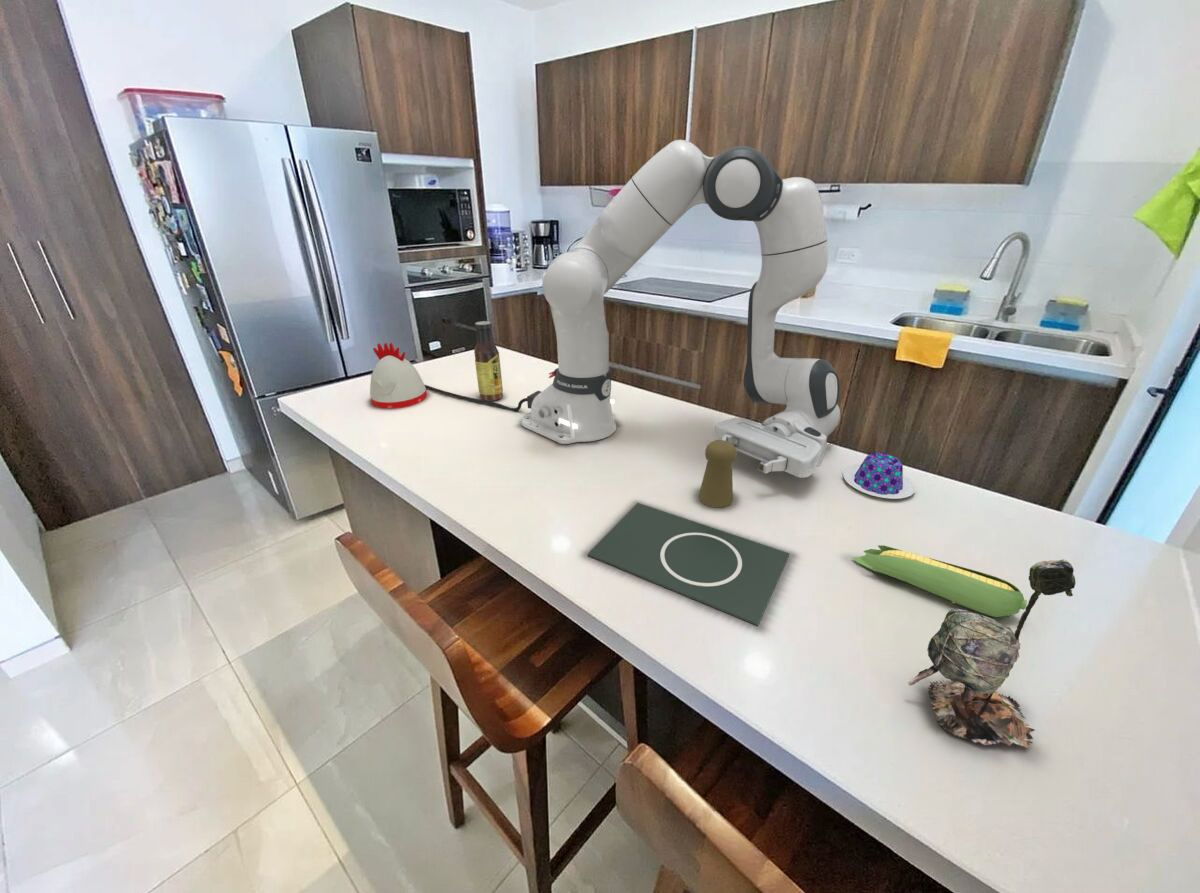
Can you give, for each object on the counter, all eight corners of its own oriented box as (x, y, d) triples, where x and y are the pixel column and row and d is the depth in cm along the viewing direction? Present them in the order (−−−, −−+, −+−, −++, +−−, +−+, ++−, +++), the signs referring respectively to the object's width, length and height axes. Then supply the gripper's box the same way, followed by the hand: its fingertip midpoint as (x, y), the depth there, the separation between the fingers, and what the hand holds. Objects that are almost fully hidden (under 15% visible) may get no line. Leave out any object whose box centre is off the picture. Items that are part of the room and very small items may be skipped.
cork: (733, 509, 86) (741, 453, 81) (697, 505, 87) (703, 450, 82) (732, 490, 91) (739, 437, 86) (698, 487, 92) (704, 434, 87)
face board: (587, 555, 76) (587, 553, 75) (637, 504, 88) (637, 502, 87) (757, 625, 63) (758, 623, 63) (788, 555, 75) (789, 552, 75)
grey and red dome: (388, 387, 140) (377, 335, 133) (435, 389, 138) (425, 336, 131) (361, 407, 128) (346, 350, 121) (411, 409, 126) (400, 352, 119)
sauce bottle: (501, 402, 130) (492, 326, 120) (477, 402, 130) (467, 326, 120) (505, 392, 135) (497, 319, 126) (482, 392, 136) (473, 319, 126)
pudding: (881, 508, 86) (889, 482, 83) (827, 475, 95) (833, 451, 93) (929, 492, 90) (938, 467, 87) (873, 462, 100) (879, 439, 97)
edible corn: (1017, 633, 62) (1032, 606, 60) (846, 569, 72) (853, 544, 70) (1017, 607, 66) (1030, 581, 63) (854, 550, 76) (861, 526, 74)
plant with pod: (906, 659, 59) (961, 522, 49) (1026, 707, 53) (1114, 562, 44) (900, 714, 53) (962, 569, 43) (1035, 774, 47) (1139, 623, 38)
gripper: (741, 405, 103) (696, 423, 95) (835, 439, 89) (793, 464, 81) (737, 432, 106) (694, 452, 98) (828, 469, 92) (786, 496, 84)
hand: (739, 458), depth 90 cm, fingers open, 8 cm apart
